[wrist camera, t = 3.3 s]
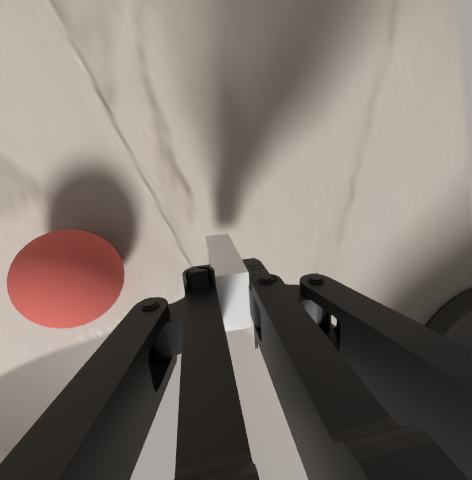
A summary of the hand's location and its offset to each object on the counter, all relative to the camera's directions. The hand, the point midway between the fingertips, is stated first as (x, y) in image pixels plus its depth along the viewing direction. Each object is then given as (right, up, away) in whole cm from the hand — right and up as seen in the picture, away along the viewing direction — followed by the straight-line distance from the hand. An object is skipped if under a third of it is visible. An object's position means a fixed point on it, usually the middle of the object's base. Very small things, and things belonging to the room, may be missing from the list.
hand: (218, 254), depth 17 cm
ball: (-9, -1, -1) cm, 9 cm away
